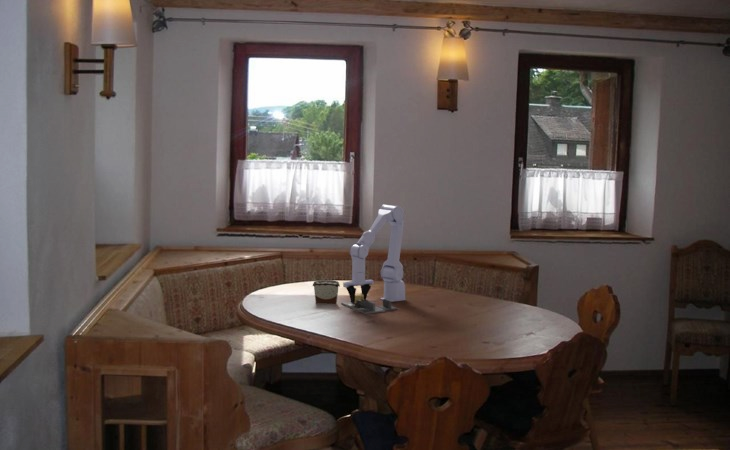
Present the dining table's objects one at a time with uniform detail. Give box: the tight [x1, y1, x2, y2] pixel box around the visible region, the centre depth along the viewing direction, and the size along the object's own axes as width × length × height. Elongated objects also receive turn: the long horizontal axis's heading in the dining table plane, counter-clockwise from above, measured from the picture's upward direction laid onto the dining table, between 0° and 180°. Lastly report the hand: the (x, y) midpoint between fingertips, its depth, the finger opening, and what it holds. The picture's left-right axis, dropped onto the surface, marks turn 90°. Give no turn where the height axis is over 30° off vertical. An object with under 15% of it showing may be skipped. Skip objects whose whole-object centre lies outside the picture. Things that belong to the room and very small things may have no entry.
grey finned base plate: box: [377, 299, 398, 312], centre depth 340 cm, size 6×7×4 cm
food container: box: [312, 279, 341, 306], centre depth 350 cm, size 12×6×10 cm, turn 84°
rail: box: [340, 292, 386, 315], centre depth 341 cm, size 10×21×5 cm, turn 31°
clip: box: [355, 292, 364, 303], centre depth 344 cm, size 4×4×4 cm
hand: (358, 301), depth 344 cm, fingers closed on clip, 5 cm apart
